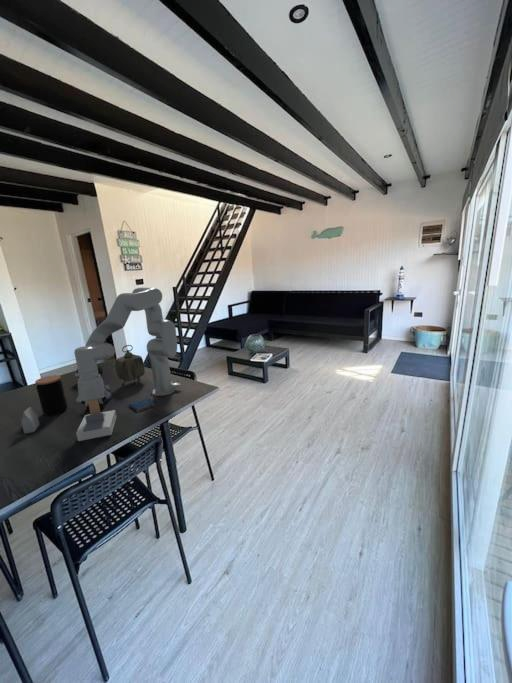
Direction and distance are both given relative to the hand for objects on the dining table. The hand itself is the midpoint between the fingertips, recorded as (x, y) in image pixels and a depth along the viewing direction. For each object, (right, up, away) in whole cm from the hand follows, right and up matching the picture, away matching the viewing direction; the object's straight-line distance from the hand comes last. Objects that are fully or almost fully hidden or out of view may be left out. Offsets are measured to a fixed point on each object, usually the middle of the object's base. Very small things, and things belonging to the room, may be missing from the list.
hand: (96, 411), depth 134 cm
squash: (-35, +6, +58) cm, 67 cm away
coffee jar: (-31, -4, +18) cm, 36 cm away
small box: (-12, -1, +26) cm, 28 cm away
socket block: (+1, -8, -1) cm, 8 cm away
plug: (0, -1, 0) cm, 1 cm away
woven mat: (+14, -2, +19) cm, 24 cm away
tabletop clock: (-4, +5, +50) cm, 50 cm away
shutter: (+3, -5, -6) cm, 8 cm away
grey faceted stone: (-31, -9, +2) cm, 32 cm away
